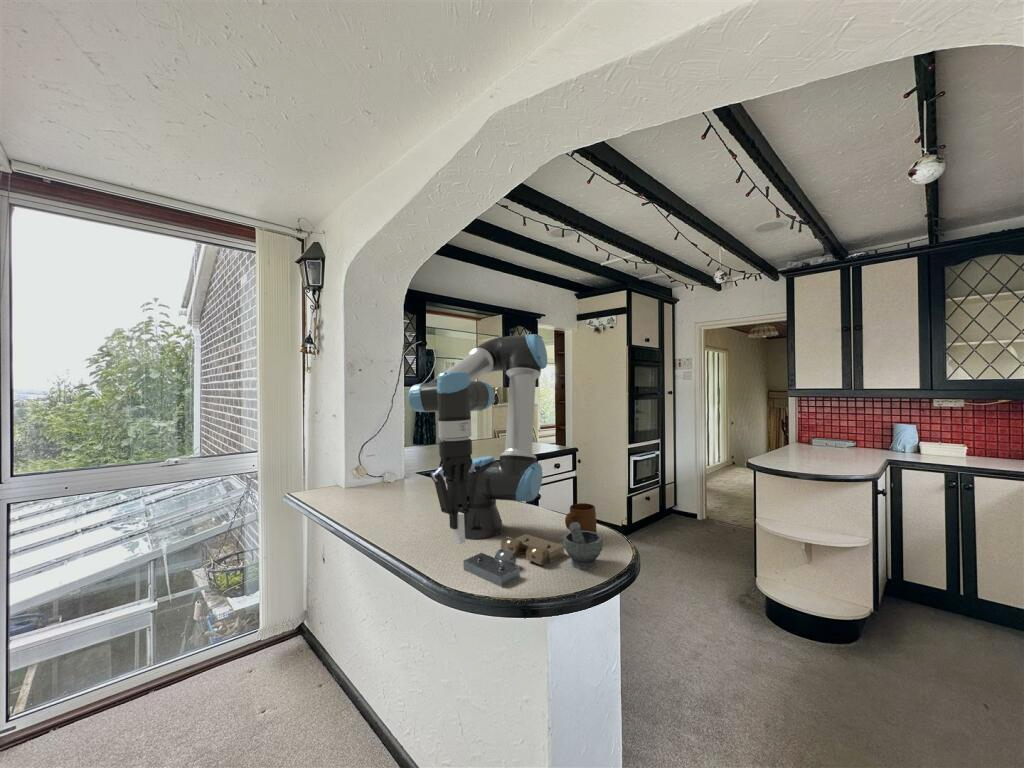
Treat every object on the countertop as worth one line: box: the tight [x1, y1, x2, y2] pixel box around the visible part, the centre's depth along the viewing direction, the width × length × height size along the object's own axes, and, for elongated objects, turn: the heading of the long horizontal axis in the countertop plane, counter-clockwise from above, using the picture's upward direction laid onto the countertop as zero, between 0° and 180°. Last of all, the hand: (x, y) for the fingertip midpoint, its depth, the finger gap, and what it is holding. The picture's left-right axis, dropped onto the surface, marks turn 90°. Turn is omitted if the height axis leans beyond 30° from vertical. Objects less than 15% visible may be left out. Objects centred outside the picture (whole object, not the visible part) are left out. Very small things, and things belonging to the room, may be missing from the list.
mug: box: [564, 502, 598, 533], centre depth 119 cm, size 12×8×9 cm, turn 136°
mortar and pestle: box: [562, 522, 604, 571], centre depth 103 cm, size 11×9×12 cm
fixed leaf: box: [500, 534, 565, 566], centre depth 111 cm, size 14×10×4 cm
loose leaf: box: [462, 548, 521, 588], centre depth 102 cm, size 14×10×4 cm
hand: (458, 541), depth 94 cm, fingers closed
